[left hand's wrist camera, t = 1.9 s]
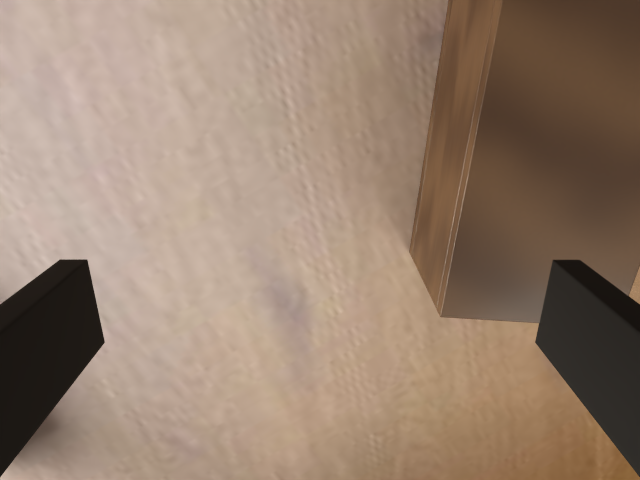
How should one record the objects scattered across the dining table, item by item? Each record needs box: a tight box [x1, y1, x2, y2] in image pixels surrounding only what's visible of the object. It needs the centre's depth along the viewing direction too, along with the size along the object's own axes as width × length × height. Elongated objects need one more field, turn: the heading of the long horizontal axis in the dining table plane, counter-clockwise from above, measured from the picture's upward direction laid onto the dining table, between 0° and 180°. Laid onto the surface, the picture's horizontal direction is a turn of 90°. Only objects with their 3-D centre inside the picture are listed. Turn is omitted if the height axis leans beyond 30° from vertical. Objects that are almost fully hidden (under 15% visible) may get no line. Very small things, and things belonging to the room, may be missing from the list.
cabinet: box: [410, 0, 640, 323], centre depth 27 cm, size 21×11×10 cm, turn 176°
